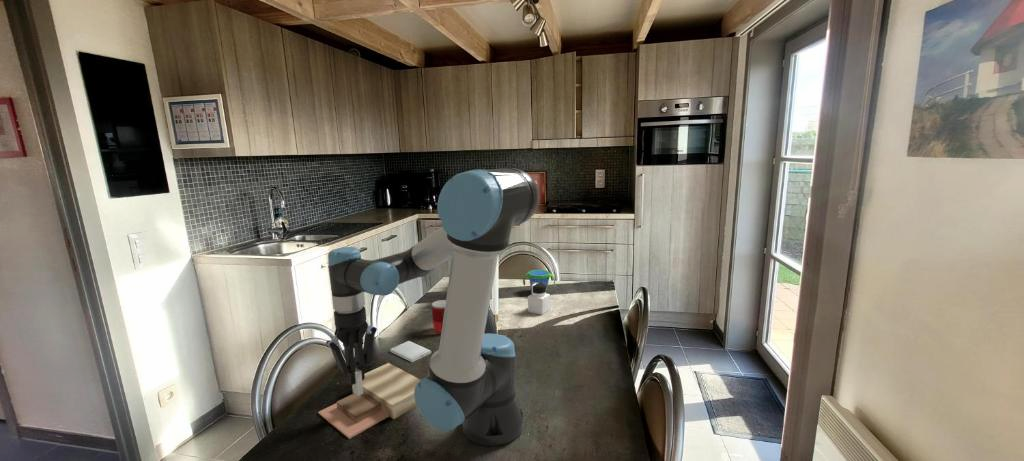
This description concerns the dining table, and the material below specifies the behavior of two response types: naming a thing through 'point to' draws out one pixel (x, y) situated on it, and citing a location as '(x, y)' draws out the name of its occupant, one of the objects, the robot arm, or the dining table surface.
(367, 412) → the wooden block
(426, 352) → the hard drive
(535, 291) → the medicine bottle
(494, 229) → the robot arm
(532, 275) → the snack cup
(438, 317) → the canned food
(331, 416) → the mat
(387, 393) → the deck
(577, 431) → the dining table surface
